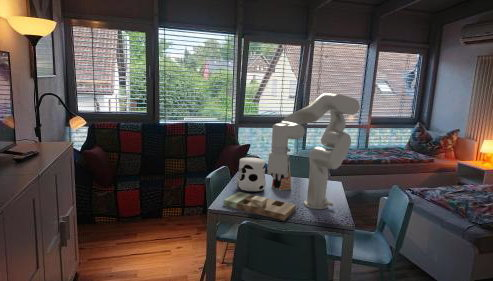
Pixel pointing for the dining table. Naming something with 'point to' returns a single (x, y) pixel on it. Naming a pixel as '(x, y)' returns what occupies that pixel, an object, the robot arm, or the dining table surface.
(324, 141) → the robot arm
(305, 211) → the dining table surface
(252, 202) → the block
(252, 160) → the milk container
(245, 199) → the wooden puzzle board
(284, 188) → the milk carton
